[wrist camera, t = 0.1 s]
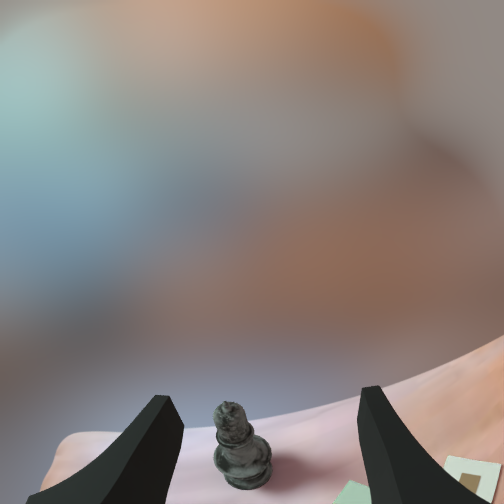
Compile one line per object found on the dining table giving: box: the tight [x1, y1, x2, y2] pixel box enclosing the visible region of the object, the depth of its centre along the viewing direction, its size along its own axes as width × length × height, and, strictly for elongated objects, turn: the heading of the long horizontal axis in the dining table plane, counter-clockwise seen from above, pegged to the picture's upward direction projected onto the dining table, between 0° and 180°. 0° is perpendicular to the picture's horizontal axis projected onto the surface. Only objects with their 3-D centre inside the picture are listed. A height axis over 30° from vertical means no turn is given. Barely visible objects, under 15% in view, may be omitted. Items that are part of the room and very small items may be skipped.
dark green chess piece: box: [213, 401, 272, 490], centre depth 25 cm, size 6×6×12 cm
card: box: [443, 455, 501, 503], centre depth 17 cm, size 9×7×1 cm
